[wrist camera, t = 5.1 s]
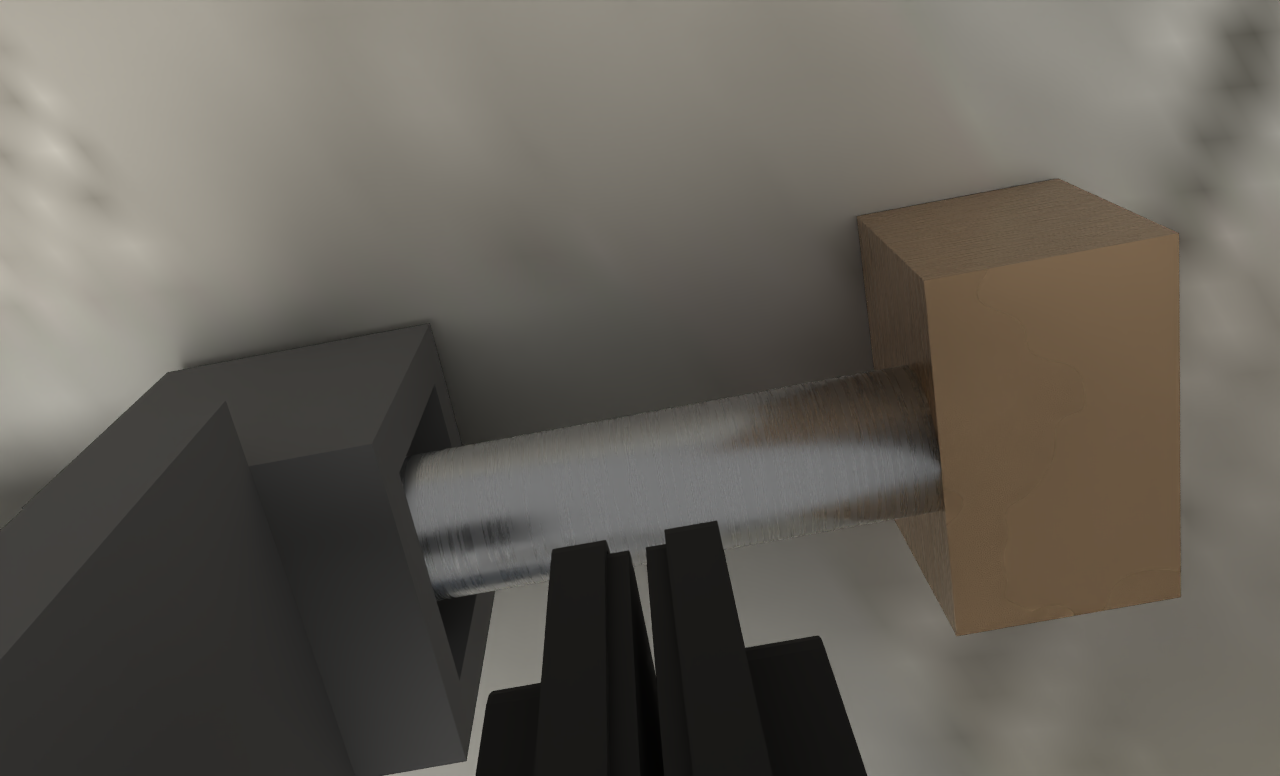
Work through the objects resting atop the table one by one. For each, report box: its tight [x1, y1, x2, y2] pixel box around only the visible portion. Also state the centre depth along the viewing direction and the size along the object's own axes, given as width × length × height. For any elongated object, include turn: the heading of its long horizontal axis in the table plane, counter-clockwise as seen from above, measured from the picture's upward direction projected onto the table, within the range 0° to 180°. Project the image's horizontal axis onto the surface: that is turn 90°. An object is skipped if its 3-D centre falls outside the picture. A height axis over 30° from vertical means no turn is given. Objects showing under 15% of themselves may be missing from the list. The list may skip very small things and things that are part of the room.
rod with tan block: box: [399, 179, 1181, 636], centre depth 16 cm, size 29×12×4 cm, turn 100°
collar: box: [0, 324, 495, 776], centre depth 12 cm, size 4×6×10 cm, turn 10°
